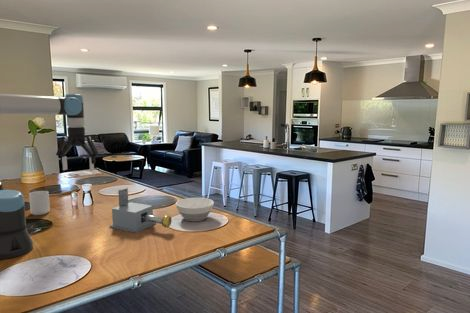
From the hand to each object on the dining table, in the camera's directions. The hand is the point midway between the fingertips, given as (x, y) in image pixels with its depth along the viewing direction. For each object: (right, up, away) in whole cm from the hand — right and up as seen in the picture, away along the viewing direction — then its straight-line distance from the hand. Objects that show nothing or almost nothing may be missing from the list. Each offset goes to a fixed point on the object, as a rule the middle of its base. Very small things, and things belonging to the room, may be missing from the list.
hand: (78, 170), depth 165 cm
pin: (+39, -25, -10) cm, 47 cm away
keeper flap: (+24, -13, -4) cm, 27 cm away
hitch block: (+28, -26, -4) cm, 39 cm away
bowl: (+56, -25, +7) cm, 62 cm away
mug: (-27, -23, +15) cm, 39 cm away
